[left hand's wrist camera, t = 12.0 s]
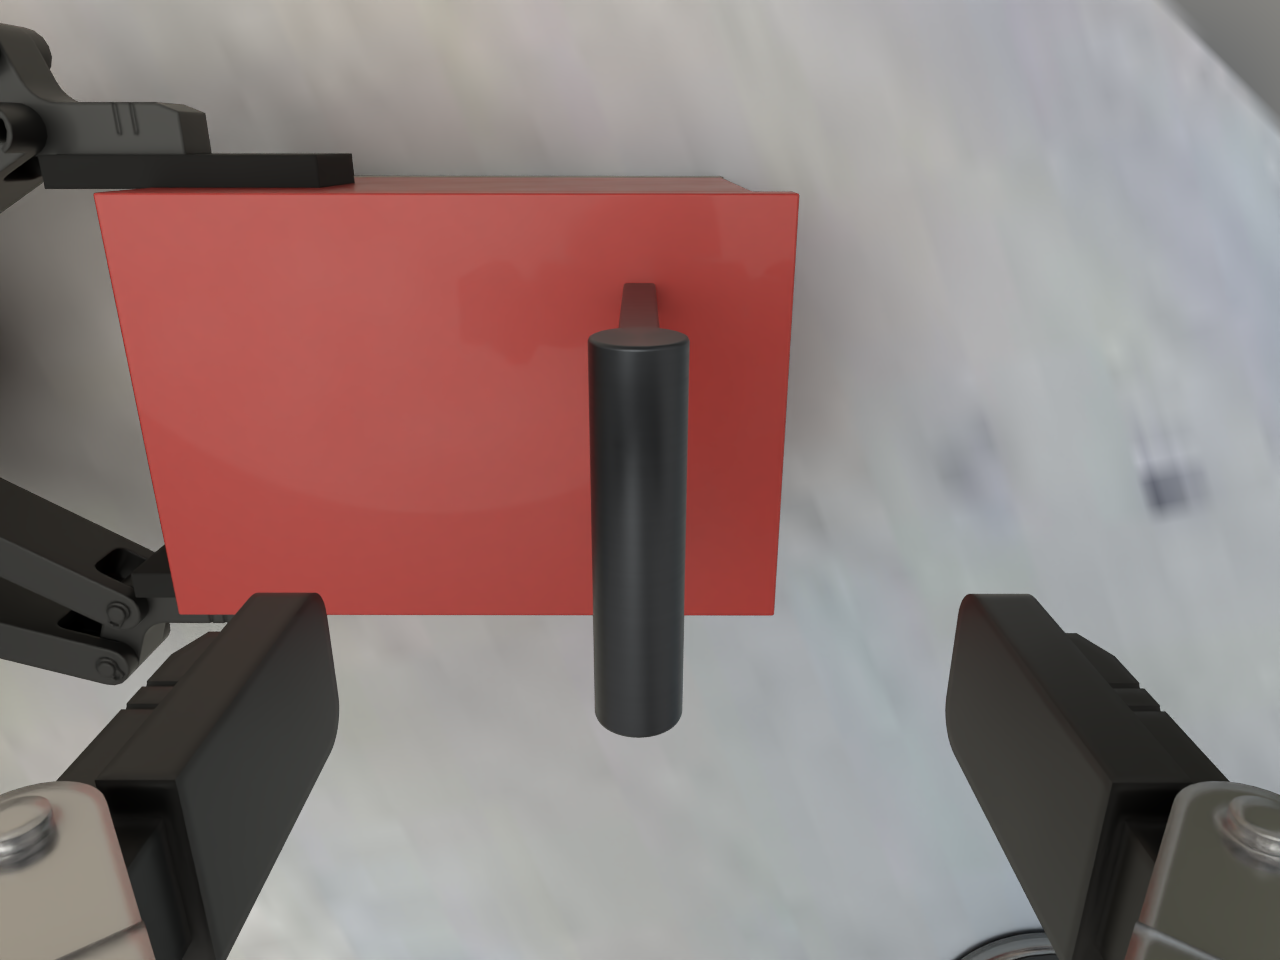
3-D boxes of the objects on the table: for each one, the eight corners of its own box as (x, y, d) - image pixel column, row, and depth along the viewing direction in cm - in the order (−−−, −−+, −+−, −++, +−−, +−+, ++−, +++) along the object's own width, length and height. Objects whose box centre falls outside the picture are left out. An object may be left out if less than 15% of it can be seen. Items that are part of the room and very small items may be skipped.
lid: (793, 191, 20) (888, 221, 12) (770, 600, 23) (831, 821, 16) (113, 190, 20) (-216, 221, 12) (193, 599, 23) (-22, 819, 16)
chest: (720, 176, 28) (755, 190, 20) (711, 476, 32) (737, 600, 23) (274, 175, 28) (113, 190, 20) (315, 475, 32) (193, 599, 23)
